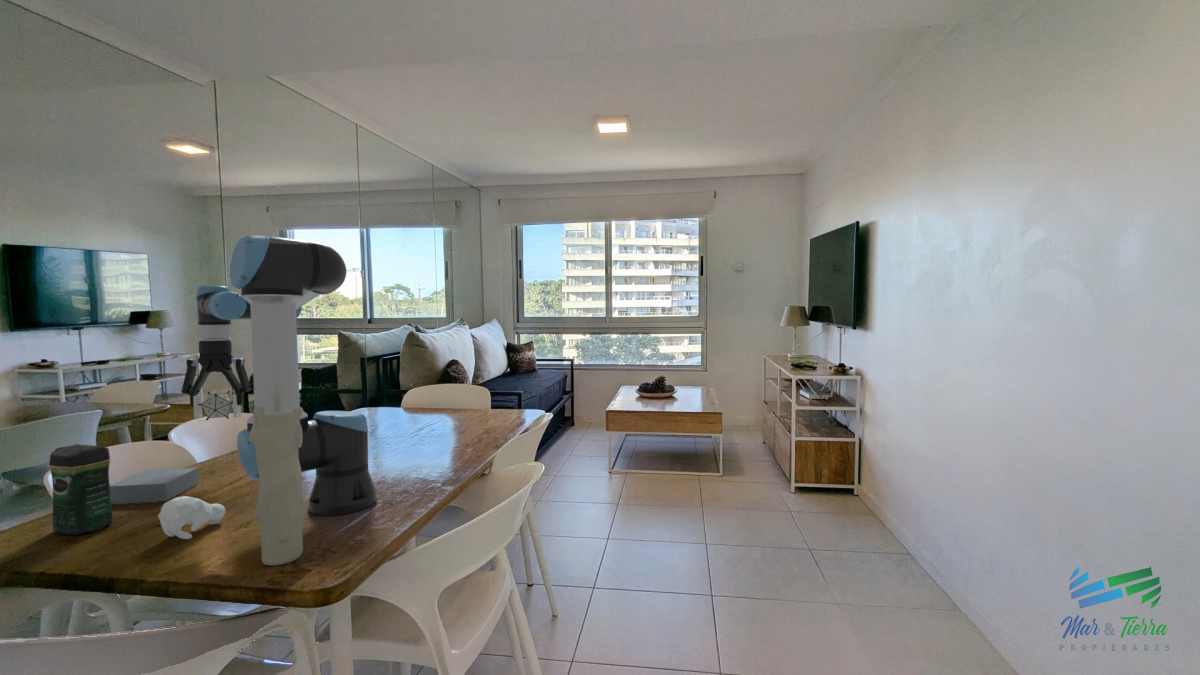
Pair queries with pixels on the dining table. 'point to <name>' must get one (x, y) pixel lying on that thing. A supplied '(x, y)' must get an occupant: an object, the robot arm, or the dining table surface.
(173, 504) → the white animal figurine
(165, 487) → the grey square block
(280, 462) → the vase
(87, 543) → the dining table surface
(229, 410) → the game die
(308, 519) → the dining table surface
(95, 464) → the coffee jar
